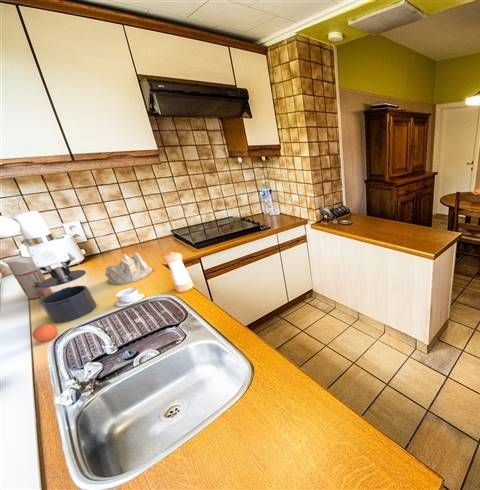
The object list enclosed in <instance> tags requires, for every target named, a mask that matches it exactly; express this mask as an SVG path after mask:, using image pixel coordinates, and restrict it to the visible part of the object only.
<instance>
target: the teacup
mask: <svg viewBox="0 0 480 490" xmlns="http://www.w3.org/2000/svg"><path fill="white" fill-rule="evenodd" d="M138 290H139V289H138V288H137V287H127V288H125V289H123V290H120V291H118V292H117V293H116V294H115V297H116V298H117V299H118V301H117V302H116V303H115V305H116V306H117V307H126V306H130V305H133V304H135V303H137V302H139V301H141V300H143V298H144V297H145V294H143V293H139V291H138Z"/></svg>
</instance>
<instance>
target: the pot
mask: <svg viewBox="0 0 480 490" xmlns="http://www.w3.org/2000/svg"><path fill="white" fill-rule="evenodd" d="M39 305H40V306H41V307H42V309H43V310H44V311H45V313H46V315H47V316H48V318H49V319H50V321H51V322H53V323H54V324H64V323H68V322H72V321H75V320H77V319H80V318H82V317H85V316H86V315H88V314H90V313H92V312H93V311H94V310H96V308H97V306H98V305H97V302H96V301H95V298H94V297H93V296H92V294H91V292H90V290H89V288H88V286H86V285H74V286H68V287H64V288H61V289H59V290H57V291H54V292H52V294H50V295H48V296H46V297H44V298H43V299H42V300H41V299H40V301H39Z"/></svg>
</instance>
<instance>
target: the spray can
mask: <svg viewBox="0 0 480 490" xmlns="http://www.w3.org/2000/svg"><path fill="white" fill-rule="evenodd" d="M6 264H7V266H8V268H9V270H10V271H11V273H12V275H13V277H14V278H15V279H16V281H17V283H18V285H19V286H20V288H21V289H22V291H23V292H24V294H25V296H26V297H27V299H28V300H34V299H38V298H40V296H39V295H38V293H37V292H36V290H35V289H34V288H33V287H32V286H33V285H35V284H34V283H33V281H37V280H40V281H42V282H43V281H44V280H46V279H47V278H45V276H44V274H43V272H42V270H33V269H32V268H33V264H34V262H33V261H32V259H31V257H30V256H20V257H17V258H11V259H7V260H6ZM49 289H50V290H51V292H52V293H53V290H52V287H49Z"/></svg>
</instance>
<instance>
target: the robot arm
mask: <svg viewBox="0 0 480 490" xmlns="http://www.w3.org/2000/svg"><path fill="white" fill-rule="evenodd" d="M19 233H20V234H21V235H22V237H23V240H20V244H21V245H25V244H26V250H27V253H28V254H29V257H31V259H32V261H33V262H34V264H33V268H32V269H33V270H41V271H43V272H47V273H49V275H50V277H52V278H55V279H58V277H57V275H56V274H55V272H54V270H53V269H54V268H52V267H51V266H53V265H59V264H61V266H62V267H63V270H64V271H65V273H66V275H67V276H70V273H71V271H72V270H70V268H69V265H70V264H71V263H72V262H73V261H75V260H76V257H75V256H74V255H72V254H70V253H69V252H68V251H67V250H66V248H65V247H64V245H63V244H62V243H61V242H60V240H59V239H58V238H55V237H54V235H53V233H52V232H51V231H50V228H49V227H48V225H47V223H46V222H45V220H44V218H43V216H42V215H41V212H39V211H38V210H26V211H25V210H24V211H20V212H15V213H11V214H3V215H2V214H1V215H0V238H12V237H14V236H16V235H18V234H19Z"/></svg>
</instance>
